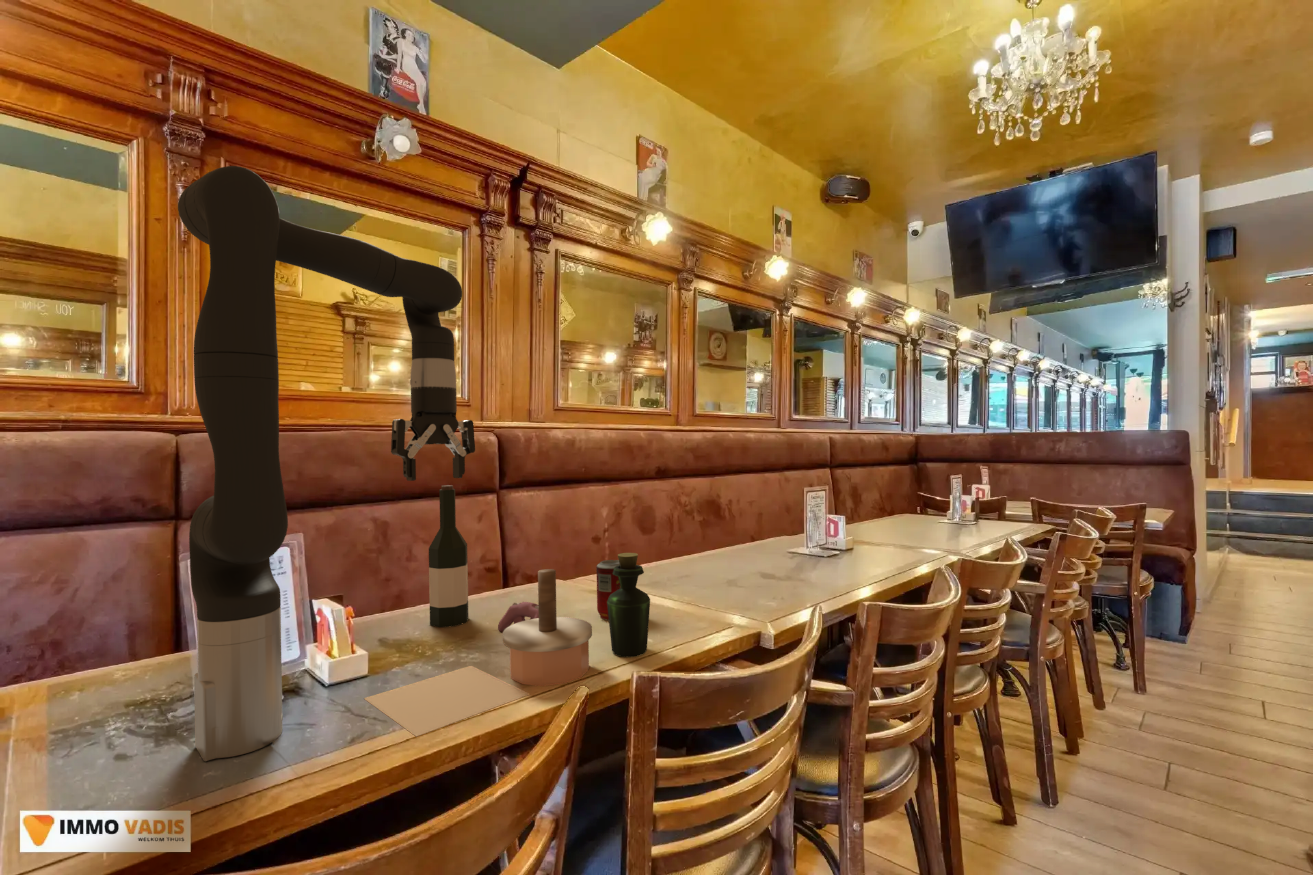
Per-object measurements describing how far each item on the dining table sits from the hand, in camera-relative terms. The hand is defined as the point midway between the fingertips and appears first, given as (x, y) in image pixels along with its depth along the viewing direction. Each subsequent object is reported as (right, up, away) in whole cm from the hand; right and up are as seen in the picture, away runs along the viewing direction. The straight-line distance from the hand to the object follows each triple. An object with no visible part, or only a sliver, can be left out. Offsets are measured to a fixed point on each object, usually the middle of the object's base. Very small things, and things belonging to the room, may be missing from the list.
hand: (435, 479), depth 106 cm
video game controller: (+11, -33, +20) cm, 40 cm away
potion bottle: (+34, -33, +7) cm, 47 cm away
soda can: (+29, -33, +29) cm, 53 cm away
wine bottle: (-7, -34, +28) cm, 44 cm away
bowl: (+20, -33, -3) cm, 39 cm away
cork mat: (+6, -33, -13) cm, 36 cm away
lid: (+20, -27, -2) cm, 34 cm away
